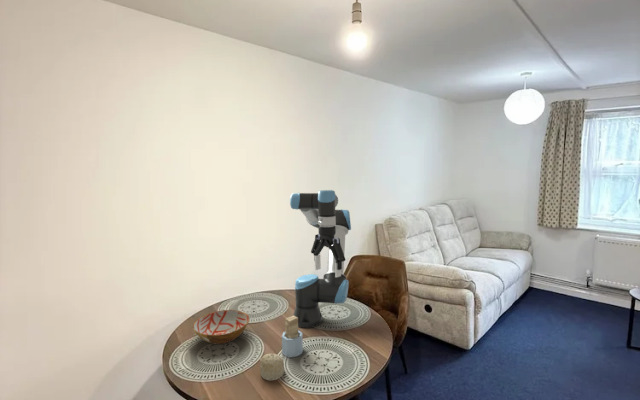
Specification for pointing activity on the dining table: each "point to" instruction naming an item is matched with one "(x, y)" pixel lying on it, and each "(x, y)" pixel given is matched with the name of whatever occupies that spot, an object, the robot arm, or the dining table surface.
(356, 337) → the dining table surface
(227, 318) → the bowl
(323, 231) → the robot arm
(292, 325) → the tan bar
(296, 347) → the jar
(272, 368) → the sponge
